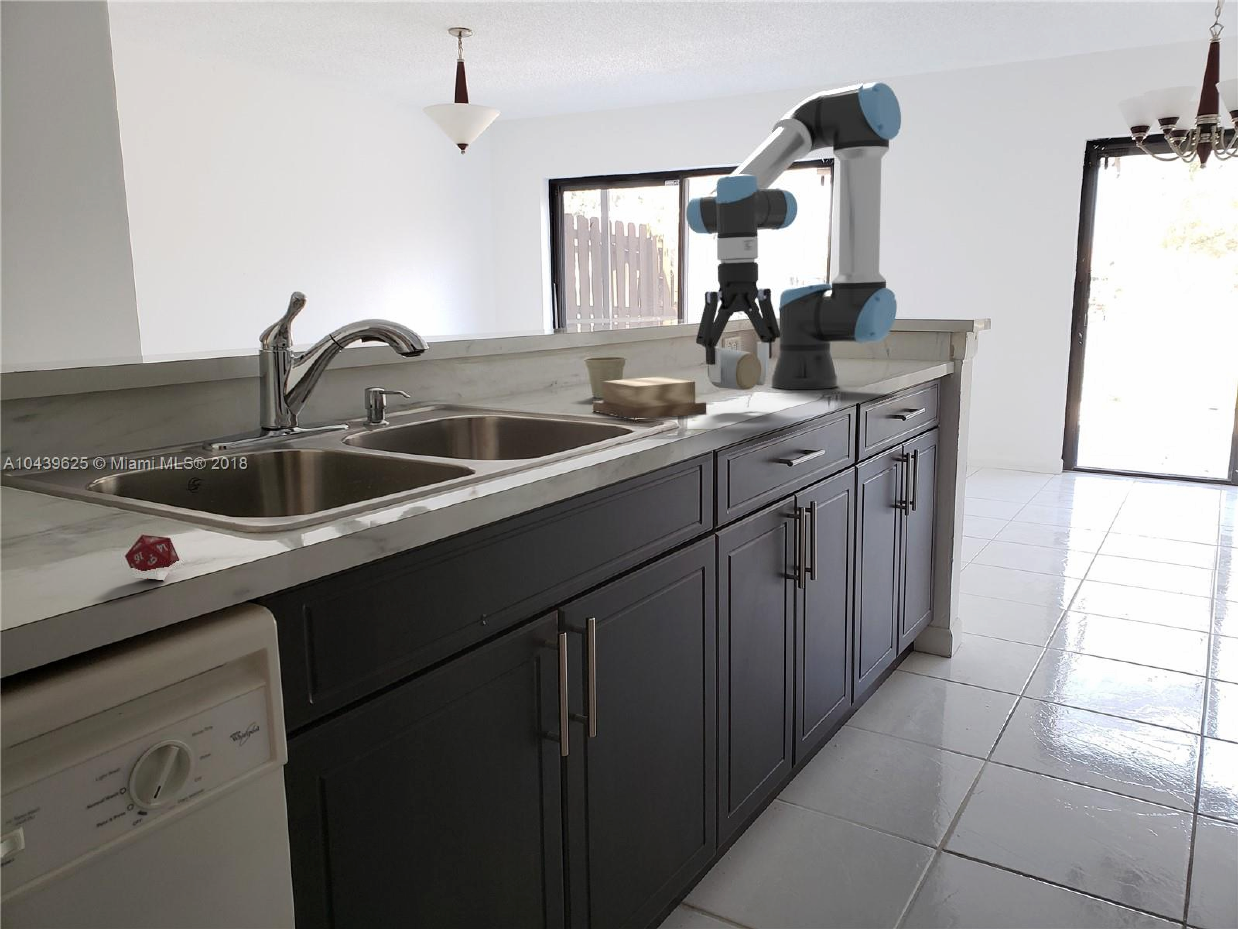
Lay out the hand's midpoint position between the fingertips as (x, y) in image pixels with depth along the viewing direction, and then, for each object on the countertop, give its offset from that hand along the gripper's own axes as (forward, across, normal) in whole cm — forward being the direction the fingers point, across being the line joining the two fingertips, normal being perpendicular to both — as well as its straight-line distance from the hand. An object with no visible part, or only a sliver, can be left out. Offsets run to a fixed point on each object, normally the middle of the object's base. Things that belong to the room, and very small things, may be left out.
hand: (739, 378), depth 180 cm
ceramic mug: (+2, 0, 0) cm, 2 cm away
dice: (+4, -106, -56) cm, 120 cm away
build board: (+6, -15, +10) cm, 19 cm away
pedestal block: (+4, -15, +10) cm, 18 cm away
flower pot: (+6, -9, +38) cm, 39 cm away
